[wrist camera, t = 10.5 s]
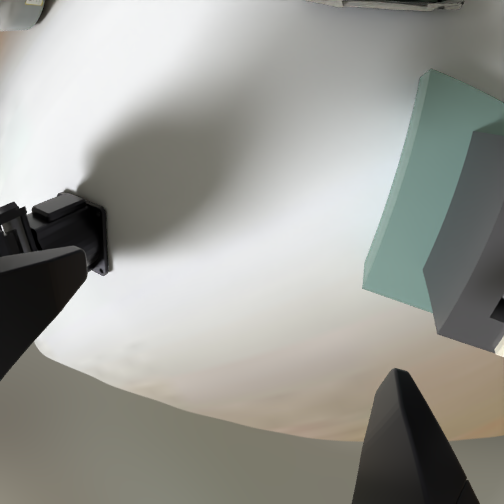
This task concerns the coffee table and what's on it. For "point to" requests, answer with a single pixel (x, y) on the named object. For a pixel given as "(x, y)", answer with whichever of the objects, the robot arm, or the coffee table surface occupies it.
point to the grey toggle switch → (472, 252)
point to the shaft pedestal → (426, 184)
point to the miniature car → (392, 4)
